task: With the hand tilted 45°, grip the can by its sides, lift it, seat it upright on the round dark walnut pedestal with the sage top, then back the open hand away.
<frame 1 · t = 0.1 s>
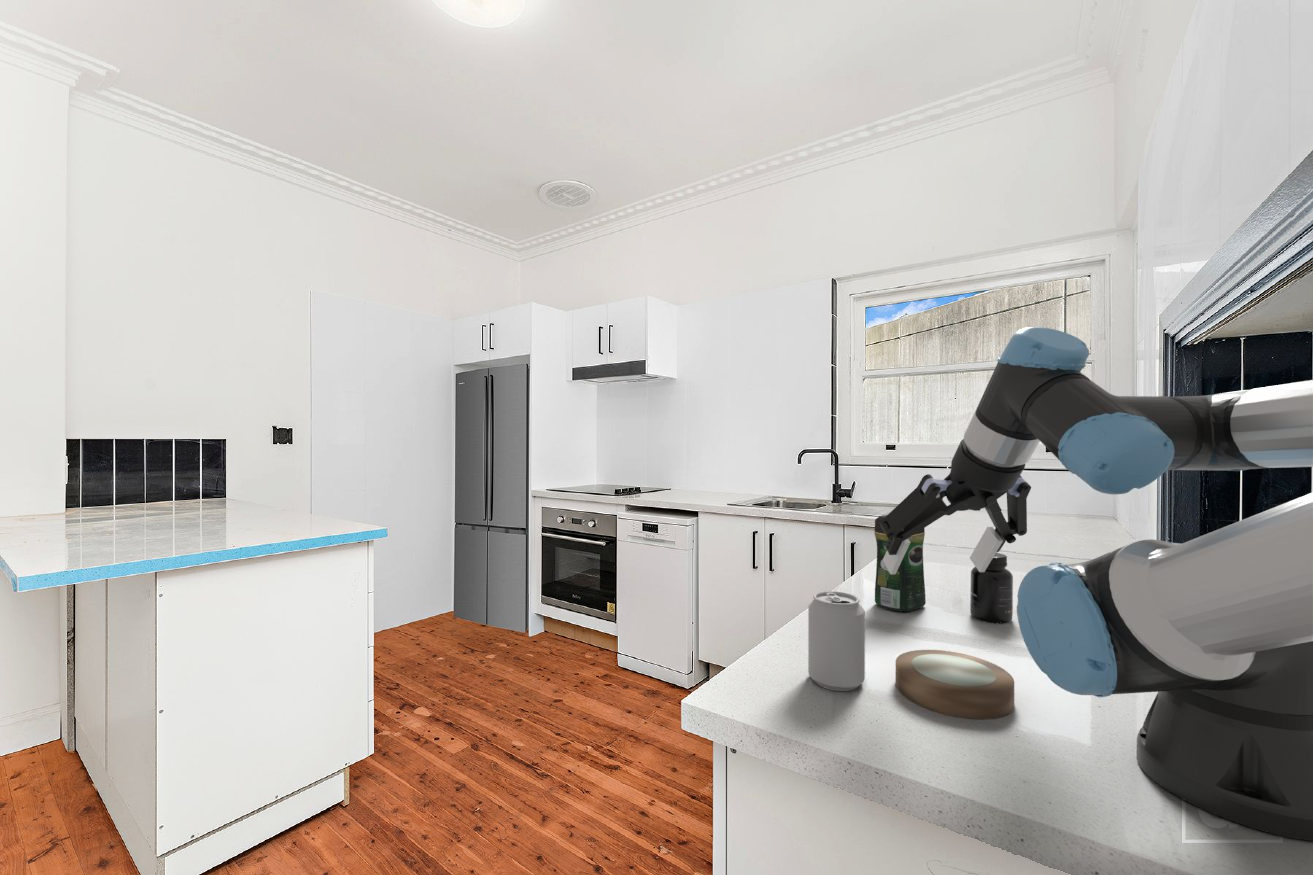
hand: (933, 566, 82), 15 cm above the counter, tool tilted 35°, fingers open, 13 cm apart
supplement bottle: (991, 619, 105), on the counter
pedestal: (952, 692, 75), on the counter
coffee jar: (899, 606, 113), on the counter
can: (836, 682, 79), on the counter
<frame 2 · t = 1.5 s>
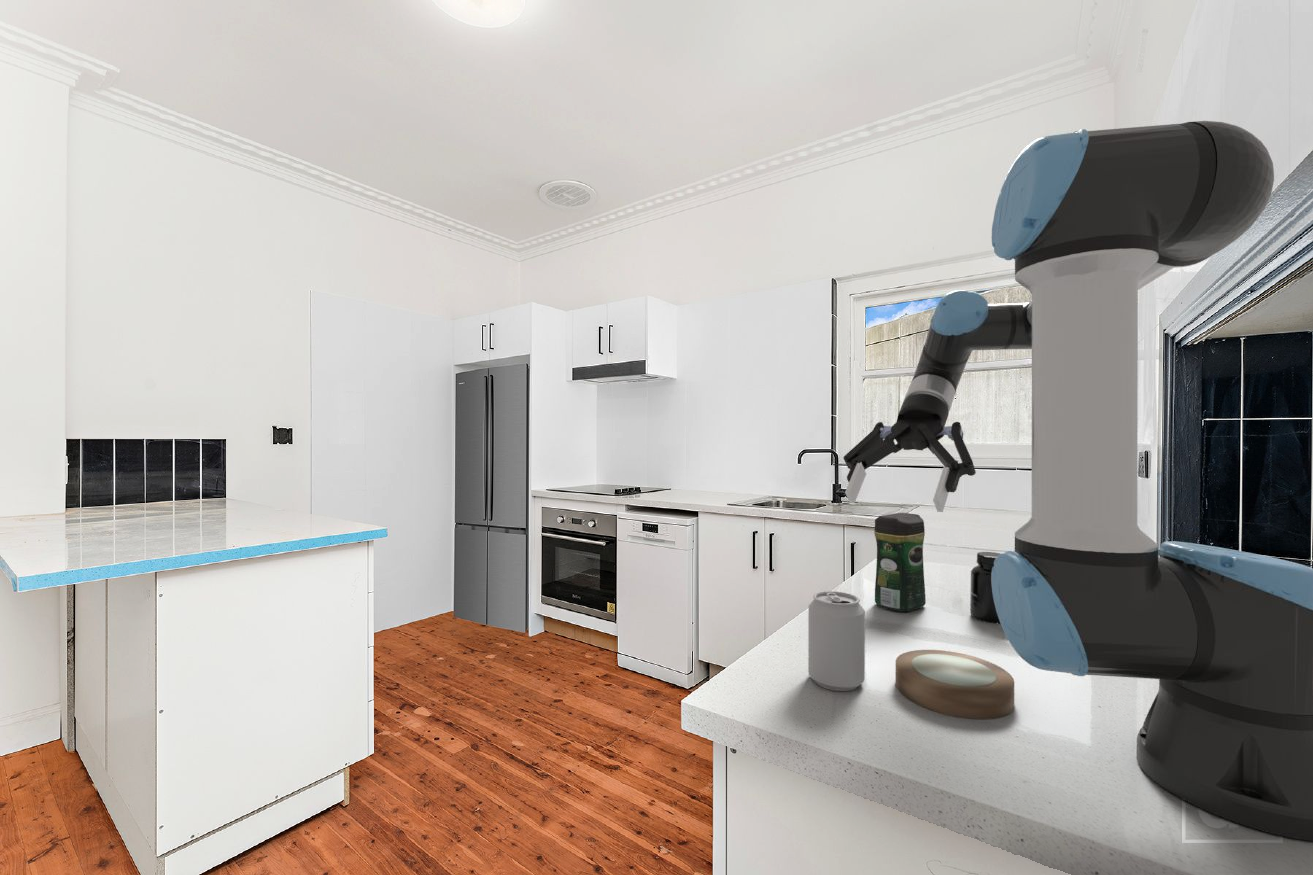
hand: (891, 502, 88), 24 cm above the counter, tool tilted 45°, fingers open, 13 cm apart
nothing on the counter moved.
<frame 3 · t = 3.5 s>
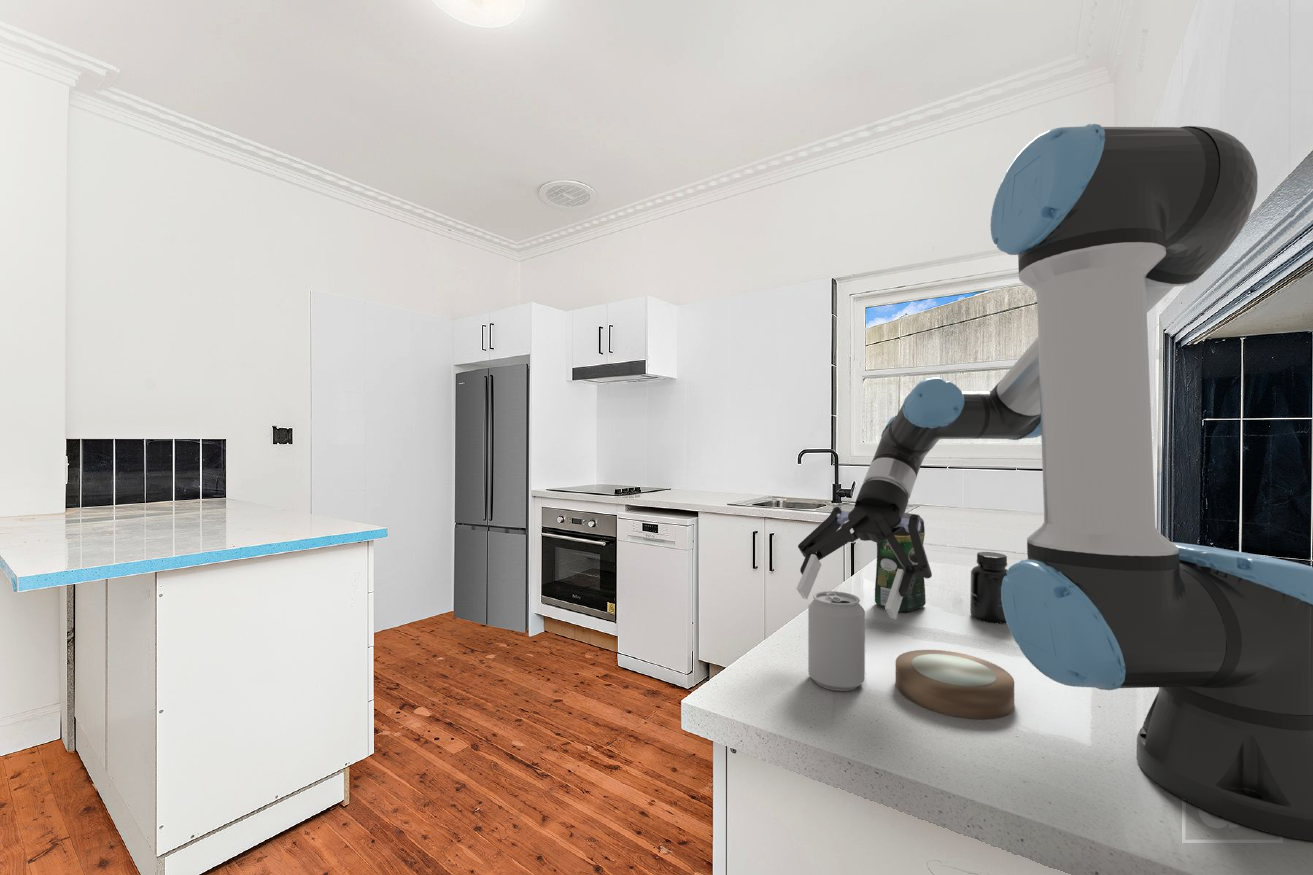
hand: (843, 603, 82), 10 cm above the counter, tool tilted 45°, fingers open, 13 cm apart
nothing on the counter moved.
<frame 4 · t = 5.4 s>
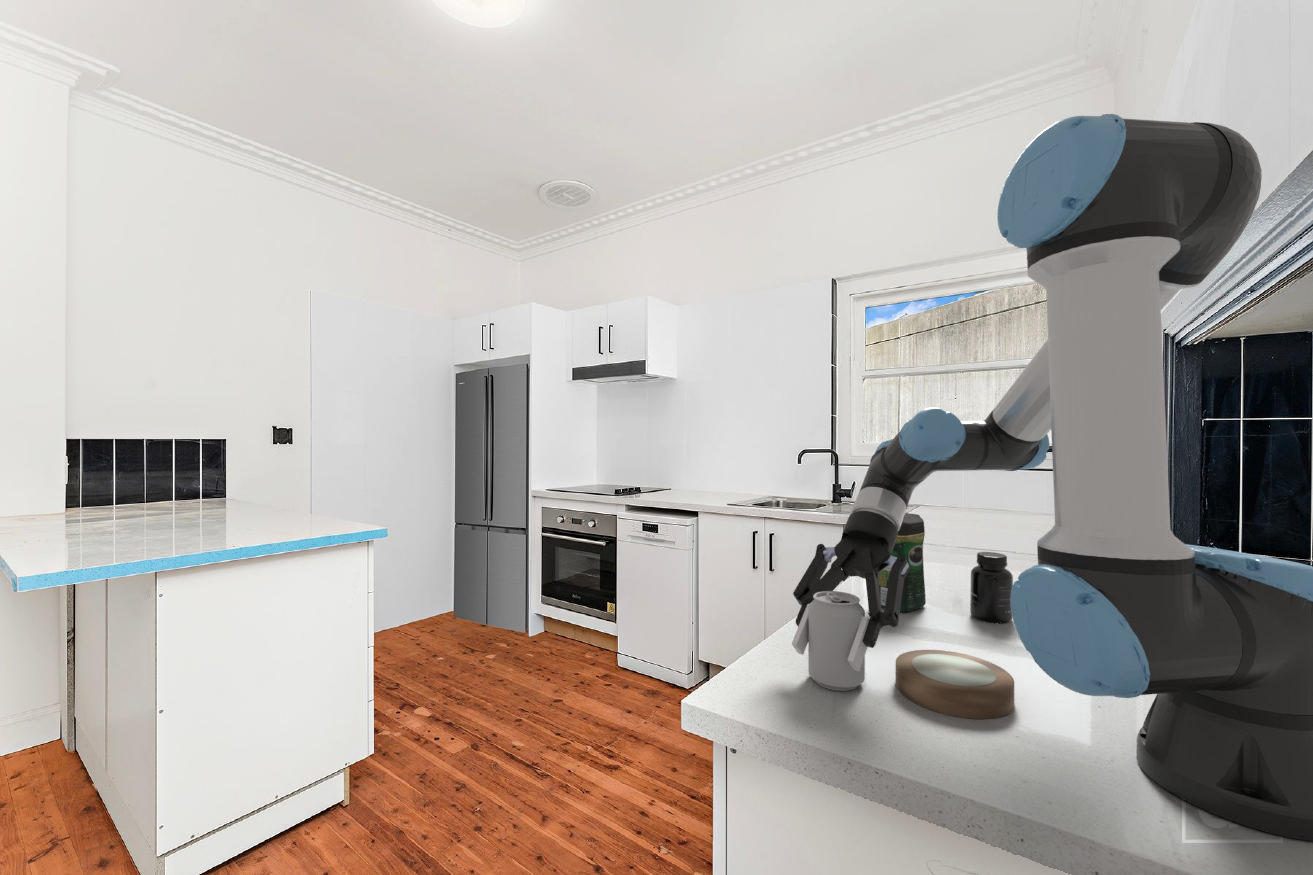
hand: (824, 657, 76), 4 cm above the counter, tool tilted 45°, fingers closed on can, 7 cm apart
can: (836, 682, 79), on the counter, touching gripper
everything else where it was.
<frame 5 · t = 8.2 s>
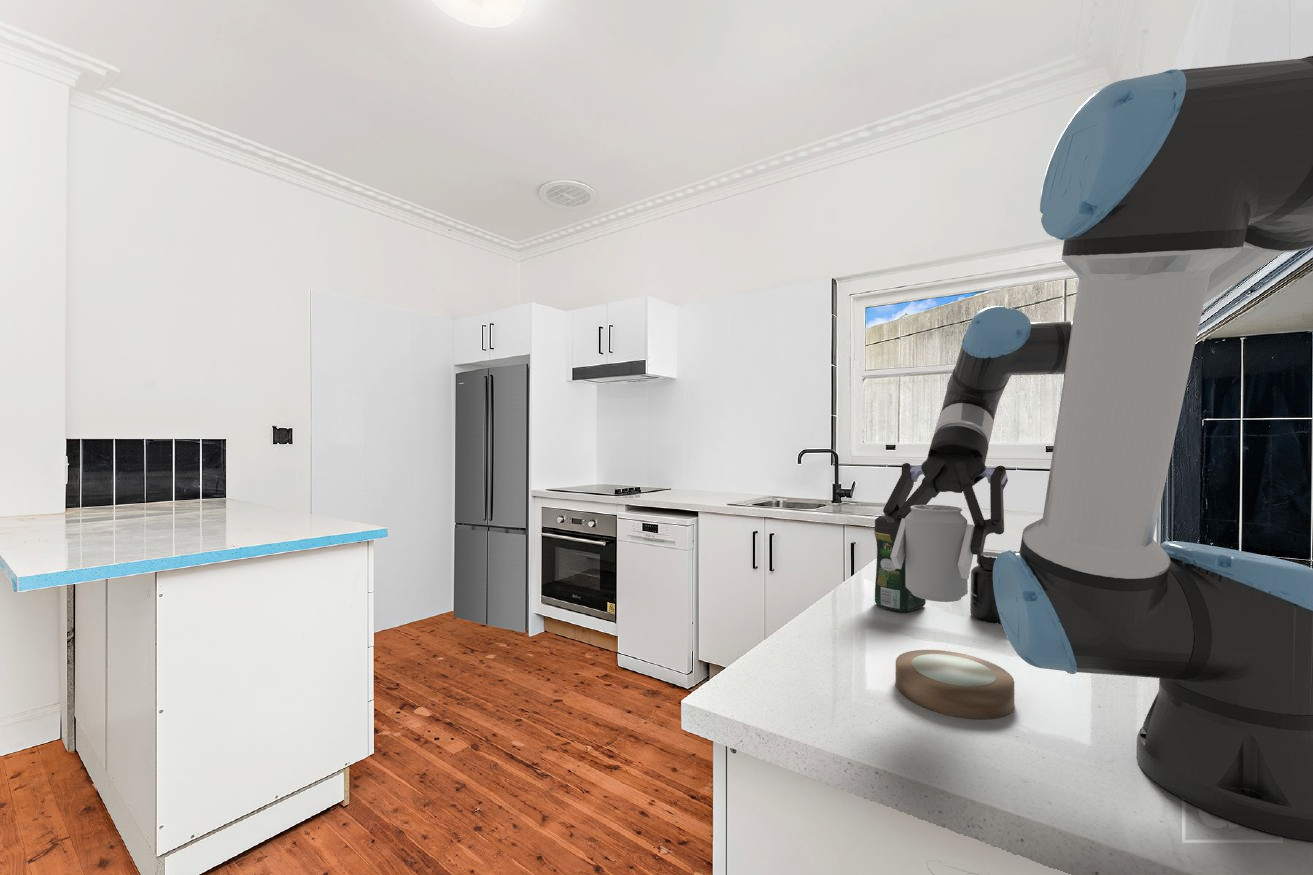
hand: (928, 567, 73), 17 cm above the counter, tool tilted 45°, fingers closed on can, 7 cm apart
can: (936, 596, 76), point 13 cm above the counter, touching gripper
everything else where it was.
when the fingers open (9 cm above the counter, at t = 10.9 s): can drops 1 cm, resting on pedestal.
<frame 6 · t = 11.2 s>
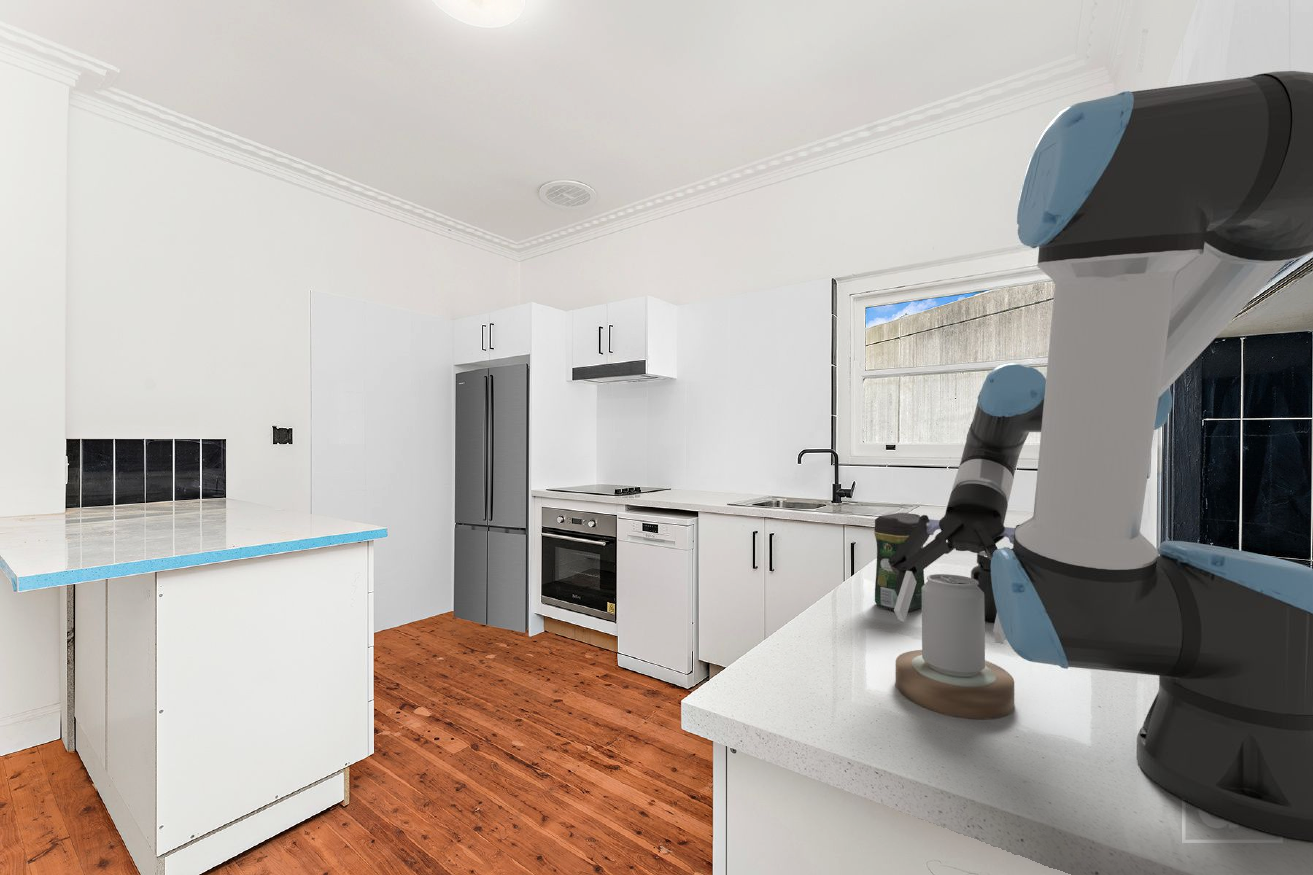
hand: (945, 626, 73), 10 cm above the counter, tool tilted 45°, fingers open, 11 cm apart
can: (953, 669, 75), point 3 cm above the counter, touching pedestal
everything else where it was.
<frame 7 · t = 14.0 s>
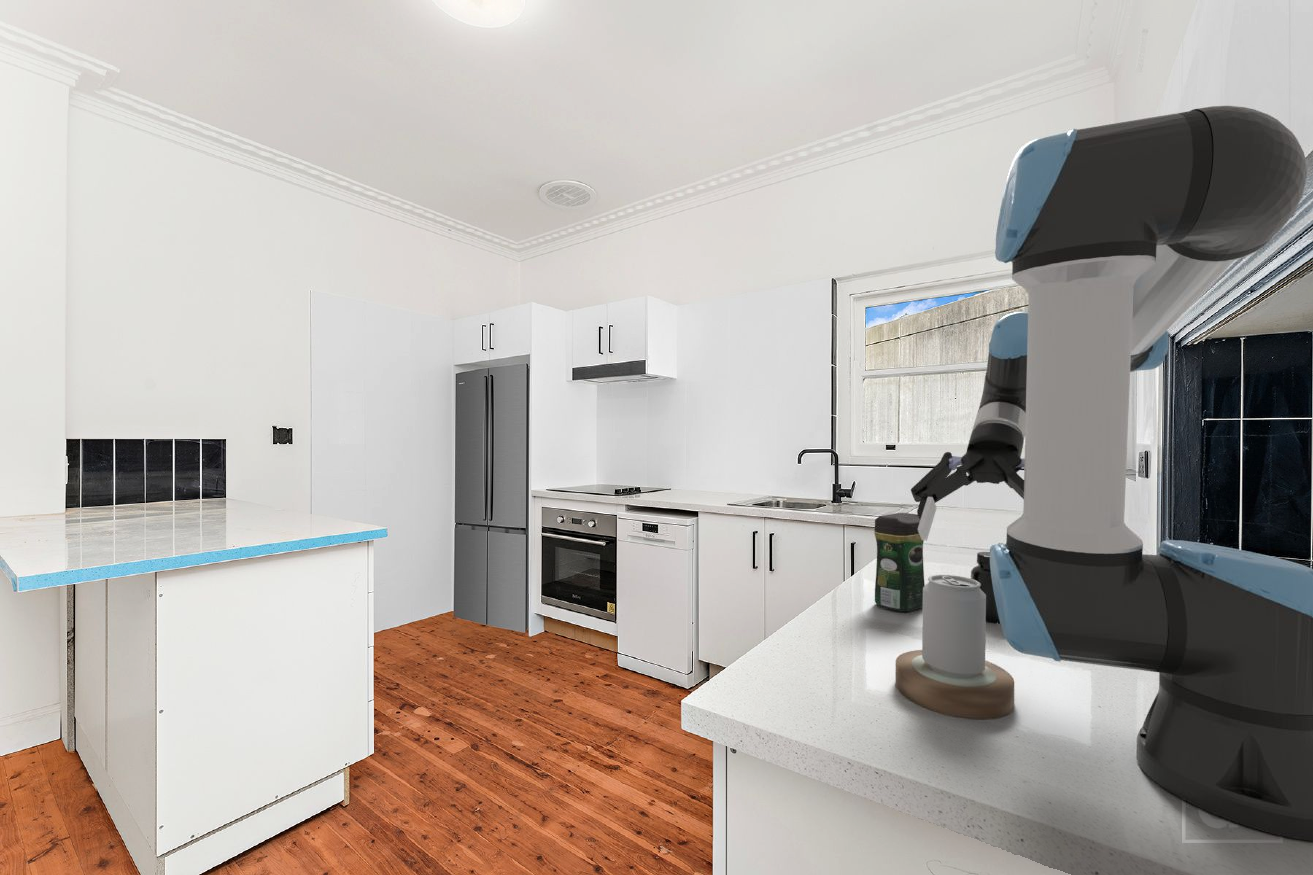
hand: (971, 541, 82), 19 cm above the counter, tool tilted 45°, fingers open, 13 cm apart
nothing on the counter moved.
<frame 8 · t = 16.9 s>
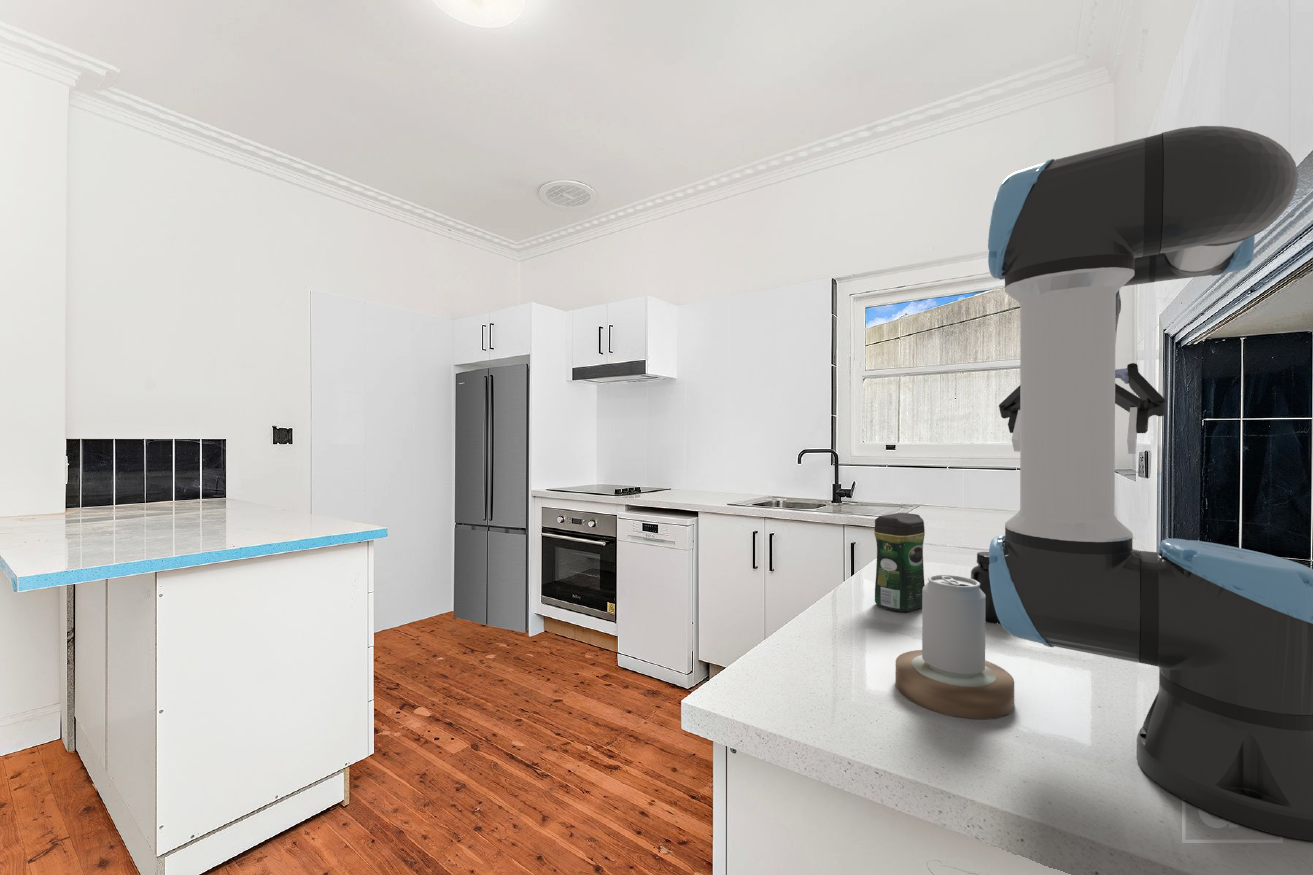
hand: (1070, 446, 82), 33 cm above the counter, tool tilted 45°, fingers open, 13 cm apart
nothing on the counter moved.
at the end: can 0.1 cm off-centre on the pedestal, point 3.0 cm above the pedestal's base; can tilted 0°; the gripper is holding nothing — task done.
